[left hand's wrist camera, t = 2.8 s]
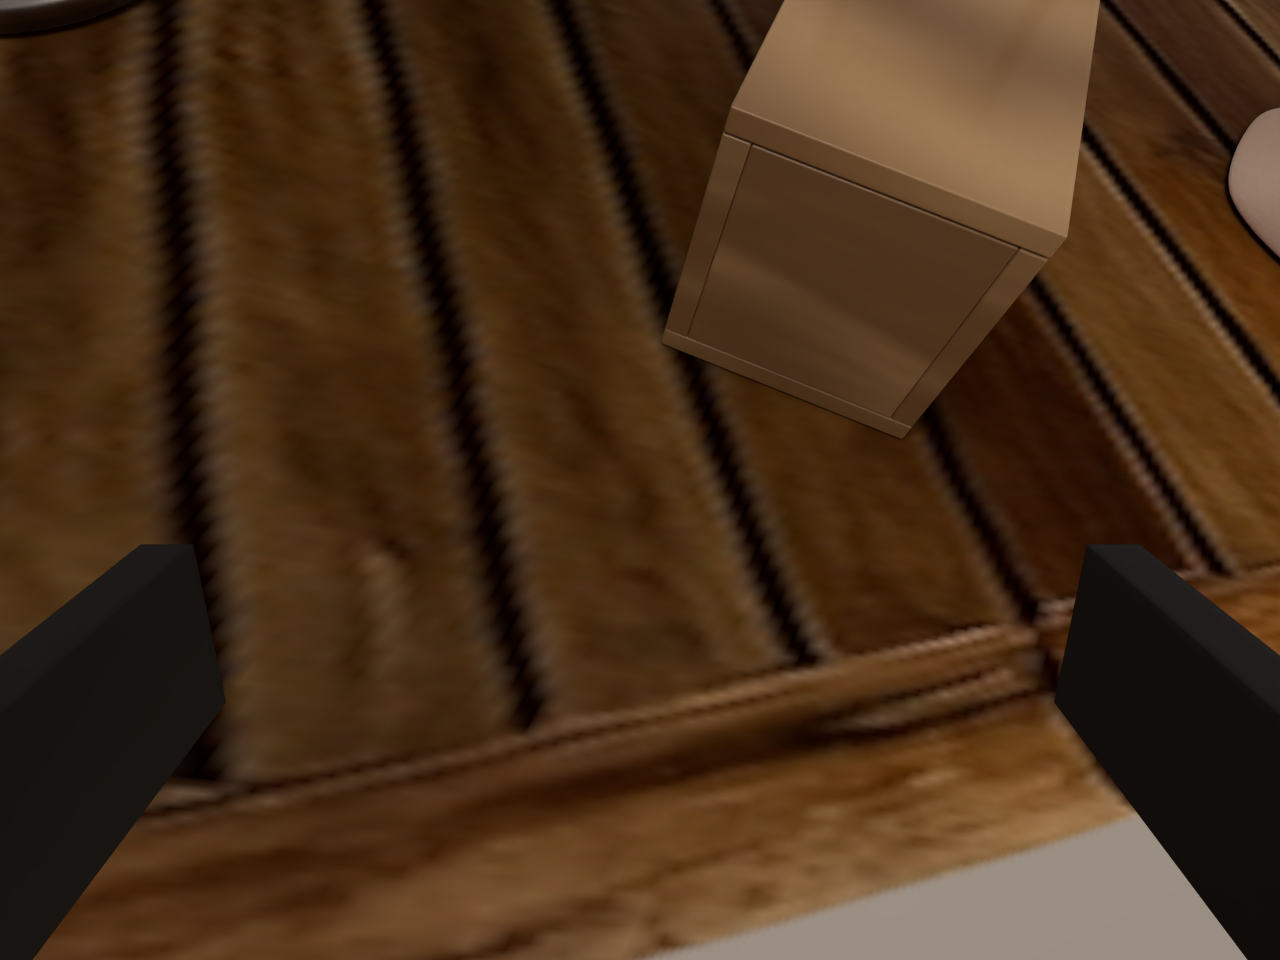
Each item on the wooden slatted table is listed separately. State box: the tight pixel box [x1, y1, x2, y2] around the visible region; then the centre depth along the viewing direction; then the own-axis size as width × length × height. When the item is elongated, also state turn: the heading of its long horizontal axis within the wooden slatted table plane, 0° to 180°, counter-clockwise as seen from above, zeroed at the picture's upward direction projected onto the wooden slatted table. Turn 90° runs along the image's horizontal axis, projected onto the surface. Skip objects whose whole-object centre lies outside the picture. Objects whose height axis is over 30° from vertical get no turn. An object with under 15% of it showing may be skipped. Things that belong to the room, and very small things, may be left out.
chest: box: [661, 131, 1048, 439], centre depth 32 cm, size 16×10×10 cm, turn 160°
